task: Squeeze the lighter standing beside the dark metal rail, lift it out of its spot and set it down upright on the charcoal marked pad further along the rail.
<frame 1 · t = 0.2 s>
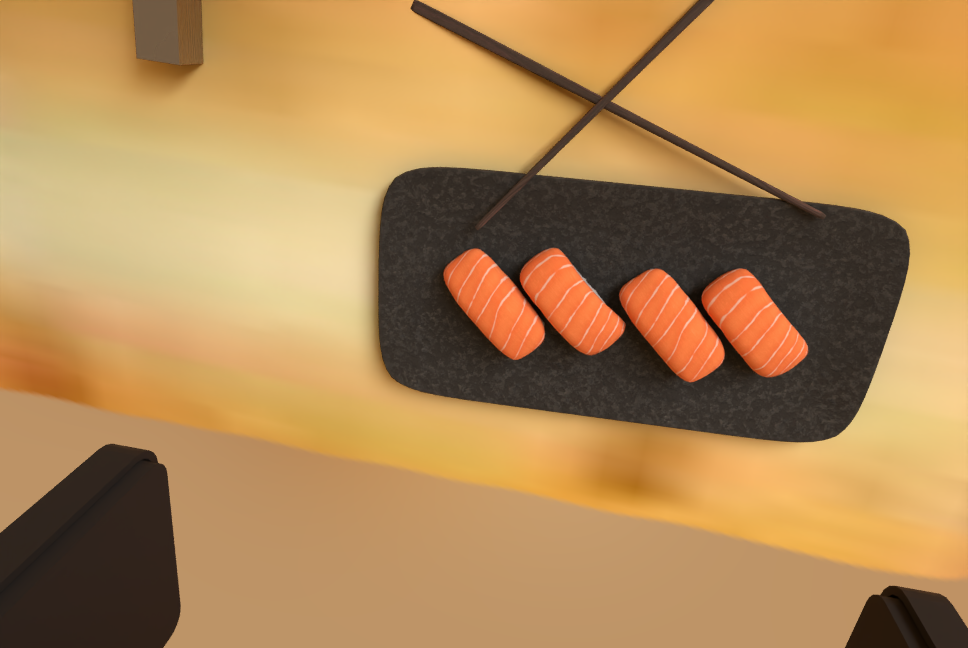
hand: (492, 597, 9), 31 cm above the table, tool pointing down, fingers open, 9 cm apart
sushi plate: (642, 170, 37), on the table
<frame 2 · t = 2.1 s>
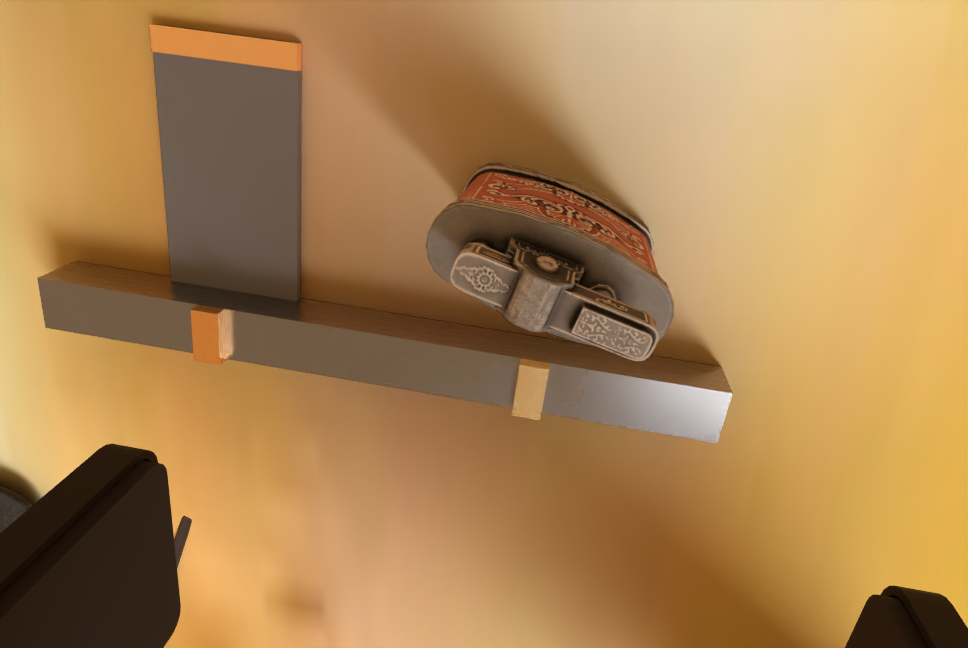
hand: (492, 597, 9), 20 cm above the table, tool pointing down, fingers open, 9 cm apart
marked pad: (233, 172, 29), on the table
rail: (384, 335, 31), on the table
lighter: (558, 219, 28), on the table
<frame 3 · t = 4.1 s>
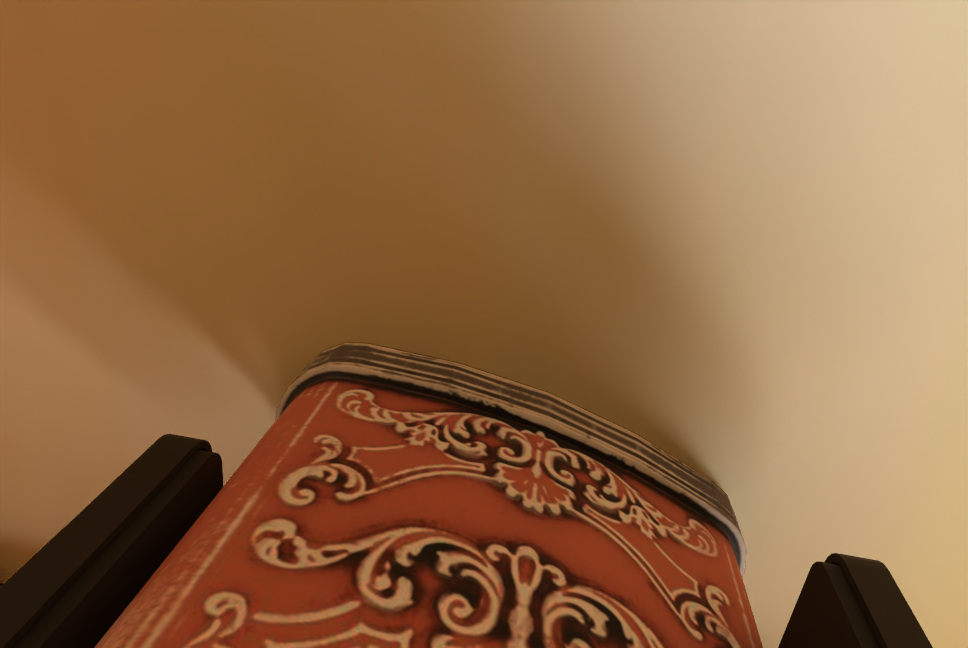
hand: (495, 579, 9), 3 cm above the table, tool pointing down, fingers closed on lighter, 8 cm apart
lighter: (513, 464, 12), on the table, touching gripper
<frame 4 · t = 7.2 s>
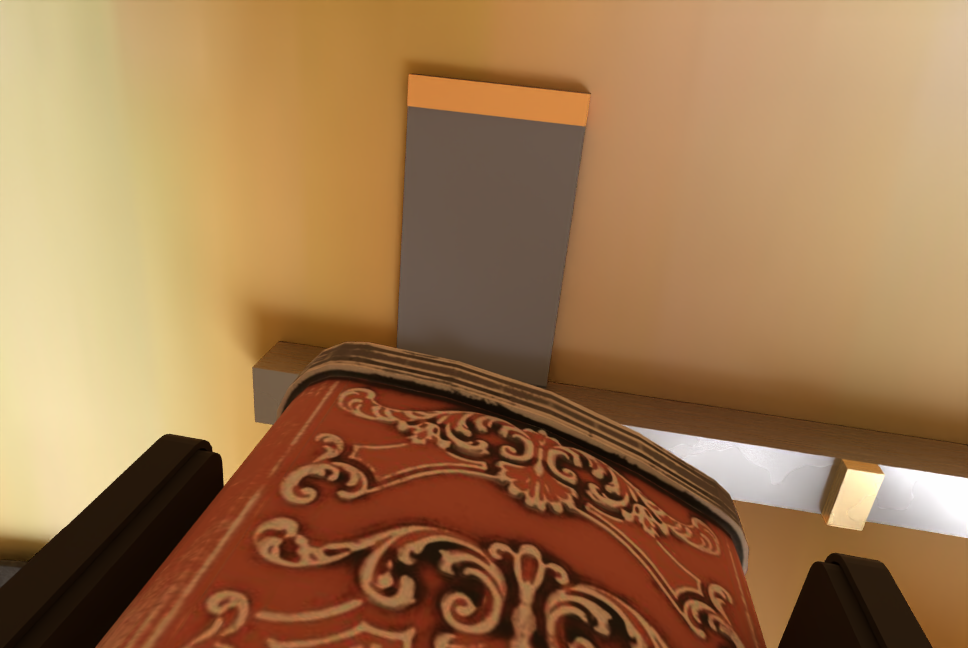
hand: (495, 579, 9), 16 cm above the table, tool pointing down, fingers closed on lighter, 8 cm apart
marked pad: (484, 242, 24), on the table
rail: (643, 423, 26), on the table
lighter: (515, 463, 12), point 14 cm above the table, touching gripper
when the fingers open (4 cm above the table, at t = 10.3 s): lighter drops 1 cm, resting on marked pad.
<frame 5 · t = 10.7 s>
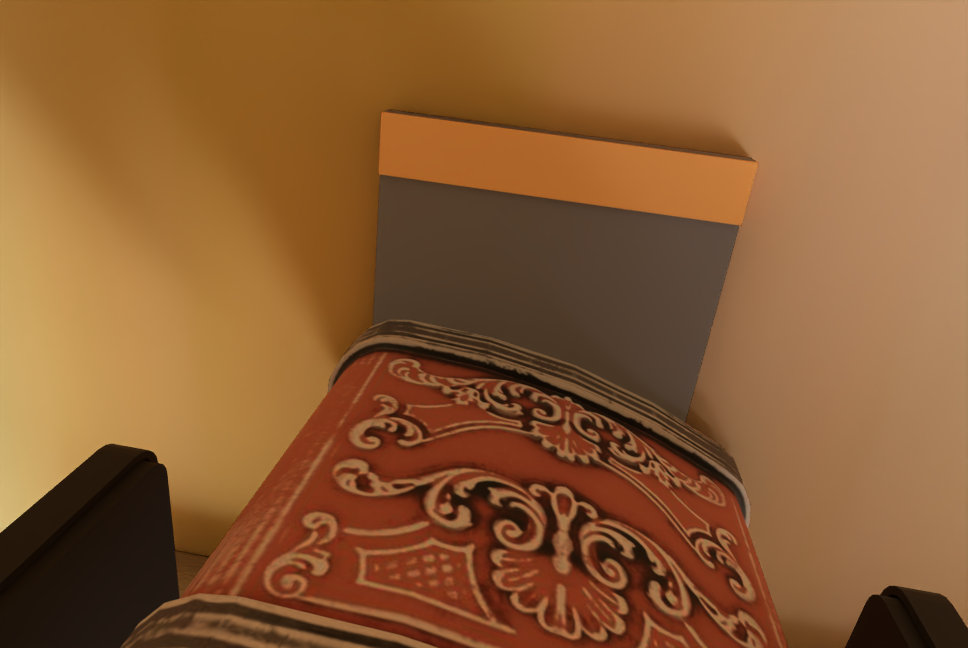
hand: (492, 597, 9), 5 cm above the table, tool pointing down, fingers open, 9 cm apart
marked pad: (521, 416, 13), on the table
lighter: (539, 431, 13), resting on marked pad
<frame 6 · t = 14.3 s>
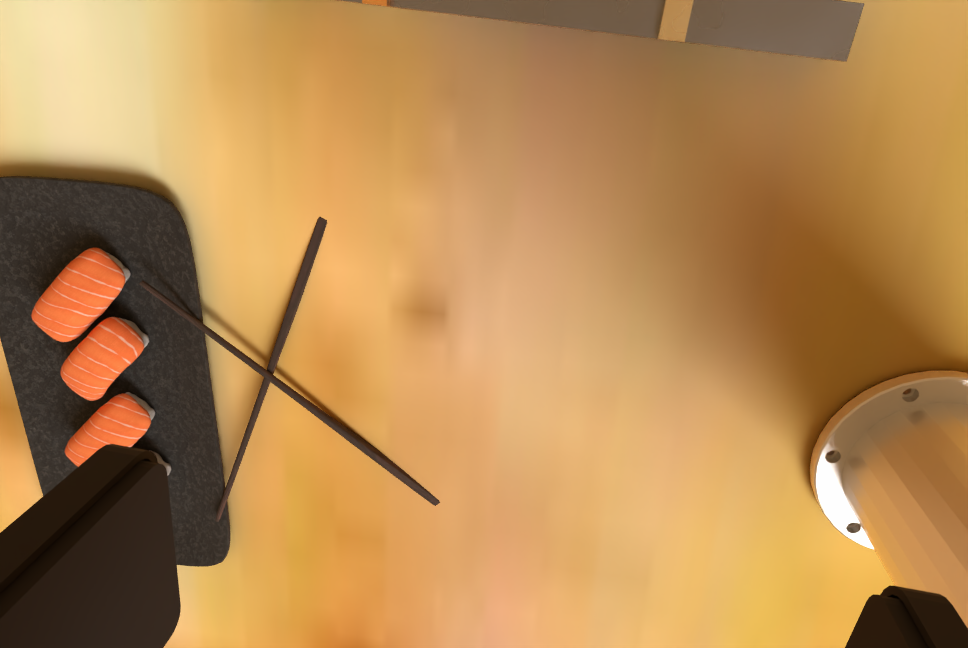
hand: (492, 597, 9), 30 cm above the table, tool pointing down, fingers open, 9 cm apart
sushi plate: (233, 392, 46), on the table
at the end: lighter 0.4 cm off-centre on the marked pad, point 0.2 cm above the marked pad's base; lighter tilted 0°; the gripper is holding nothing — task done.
